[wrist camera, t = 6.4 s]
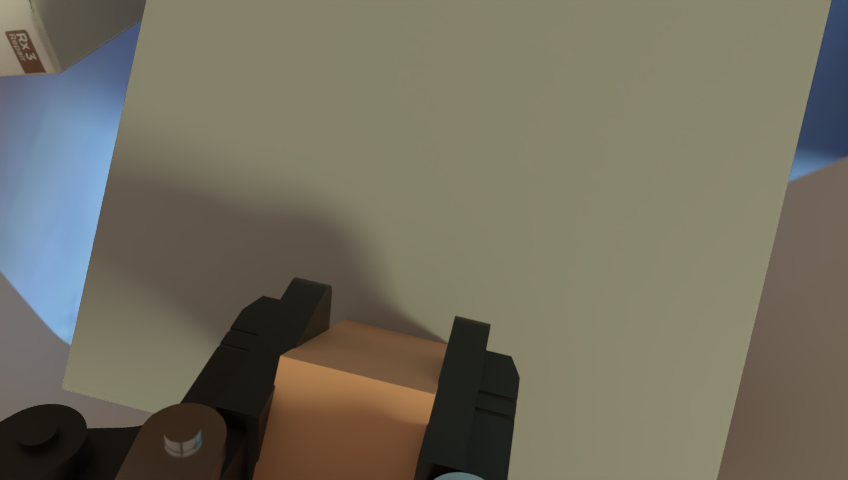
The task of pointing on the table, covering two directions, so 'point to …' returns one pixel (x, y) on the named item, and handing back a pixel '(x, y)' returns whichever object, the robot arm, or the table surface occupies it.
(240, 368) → the robot arm
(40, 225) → the table surface
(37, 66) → the skincare box
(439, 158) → the grey box lid
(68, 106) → the table surface
